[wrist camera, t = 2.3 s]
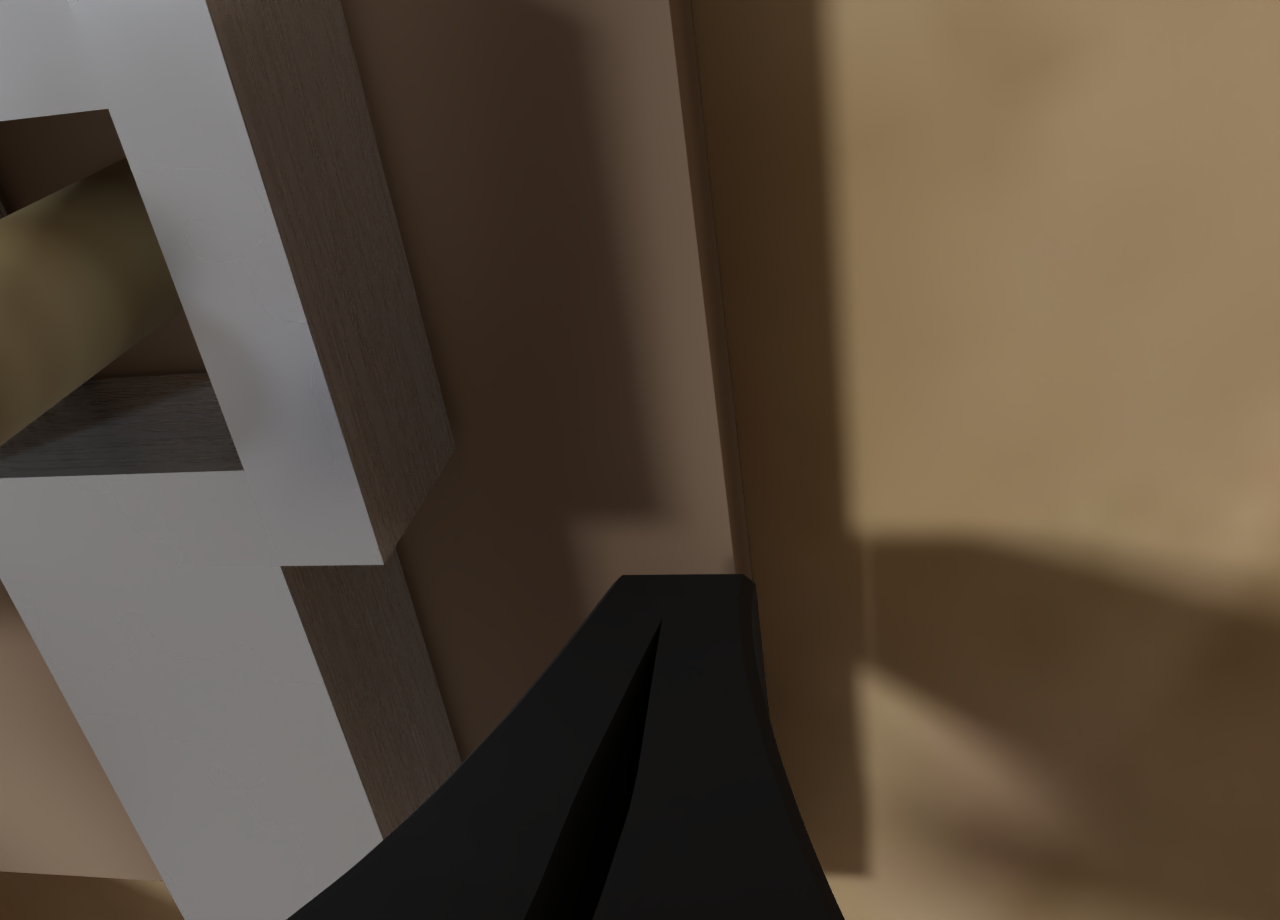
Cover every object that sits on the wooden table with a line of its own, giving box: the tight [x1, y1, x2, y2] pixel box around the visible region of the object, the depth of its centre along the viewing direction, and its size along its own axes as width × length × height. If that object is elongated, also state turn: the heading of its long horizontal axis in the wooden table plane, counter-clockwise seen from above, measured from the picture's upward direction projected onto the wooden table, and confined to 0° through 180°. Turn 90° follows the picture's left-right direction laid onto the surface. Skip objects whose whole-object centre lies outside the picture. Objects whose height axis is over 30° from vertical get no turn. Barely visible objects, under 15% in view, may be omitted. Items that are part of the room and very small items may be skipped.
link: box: [0, 0, 462, 920], centre depth 11 cm, size 12×5×2 cm, turn 8°
